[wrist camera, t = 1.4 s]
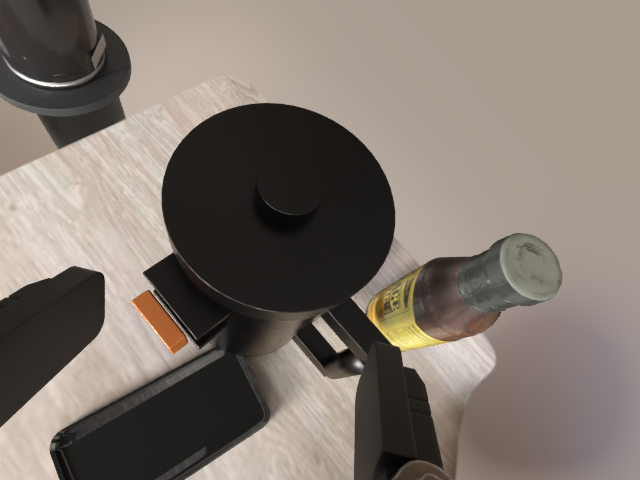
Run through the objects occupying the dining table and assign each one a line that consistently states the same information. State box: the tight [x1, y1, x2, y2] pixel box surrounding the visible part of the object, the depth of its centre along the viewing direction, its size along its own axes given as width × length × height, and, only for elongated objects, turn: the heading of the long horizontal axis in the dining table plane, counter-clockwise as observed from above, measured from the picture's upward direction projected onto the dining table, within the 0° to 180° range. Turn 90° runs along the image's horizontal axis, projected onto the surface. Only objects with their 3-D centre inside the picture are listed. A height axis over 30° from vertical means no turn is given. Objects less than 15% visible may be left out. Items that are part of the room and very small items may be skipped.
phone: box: [50, 347, 270, 480], centre depth 30 cm, size 8×1×15 cm
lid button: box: [132, 290, 188, 354], centre depth 20 cm, size 3×1×2 cm, turn 43°
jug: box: [143, 103, 395, 379], centre depth 26 cm, size 16×13×21 cm
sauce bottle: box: [365, 233, 562, 352], centre depth 30 cm, size 7×6×20 cm
